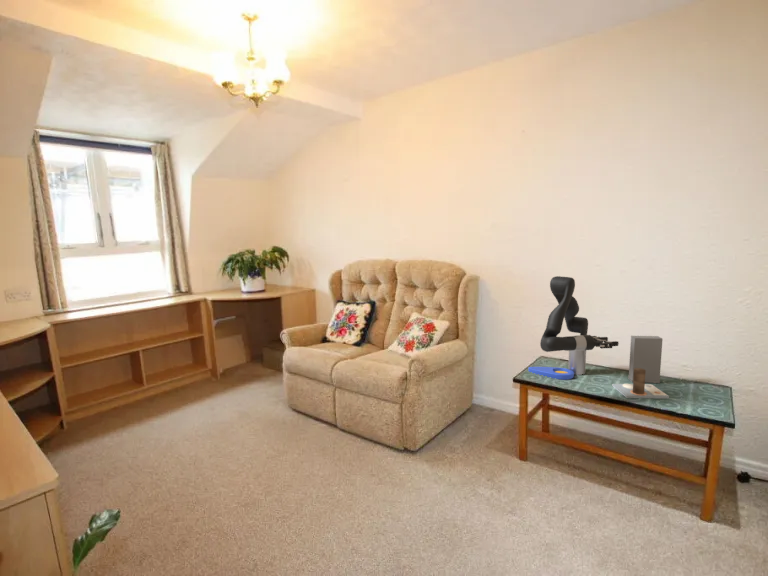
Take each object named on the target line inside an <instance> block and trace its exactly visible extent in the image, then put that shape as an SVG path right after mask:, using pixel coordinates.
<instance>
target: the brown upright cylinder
mask: <svg viewBox="0 0 768 576" xmlns="http://www.w3.org/2000/svg"><path fill="white" fill-rule="evenodd" d="M645 373H646V370H645V369H641V368H634V377H633V382H632V384H633V393H635V394H644V389H645V384H646V382H645Z"/></svg>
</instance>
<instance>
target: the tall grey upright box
mask: <svg viewBox="0 0 768 576" xmlns="http://www.w3.org/2000/svg"><path fill="white" fill-rule="evenodd" d="M629 348H630V349H629V364H628V365H629V366H628V375H627V379H628V380H629V381H630V382H632V383H633V377H634V368H641V369H645V370H646V373H645V383H647V384H653V383H655V384H660V383H661V365H662V350H663V338H662V337H660V336H658V335H631V336H630V347H629Z"/></svg>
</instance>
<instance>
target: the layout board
mask: <svg viewBox="0 0 768 576" xmlns="http://www.w3.org/2000/svg"><path fill="white" fill-rule="evenodd" d="M611 386H612V387H613V388H614V389H615V390H617V392H619V393H620V394H621V395H622V396H623V397H625V398H626V399H669V398H670V396H669V395H668V394H667V393H665V392H664V391H662V390H661V389H659V388H658V387H657V386H655V385H653V383H645V389H644V394H635V393H633V383H612V384H611Z"/></svg>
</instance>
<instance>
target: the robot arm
mask: <svg viewBox="0 0 768 576" xmlns="http://www.w3.org/2000/svg"><path fill="white" fill-rule="evenodd" d="M575 287H576V282H575V279H574V277H570V276H560V275H559V276H553V277H552V278H551V279H550V281H549V288H550V292H551V294H552V295H553V296H554V297H555V300H556V301H557V303H558V304H557V305H556V306H555V308H554V309H552V311H551V312H550V314H549V315H548V319H547V322H546V326H545V327H546V328H545V330H544V332H543V333H542V336H541V339H540V342H539V343H540V345H539V346H540V348H541V350H542V351H543V352H546V353H549V352H550V353H551V352H560V351H566V352H568V364H567V365H568V366H567V369H570V370H572V371H573V372H574V375H578V376H579V375H580V376H581V375H582V374H583V375H585V374H586V366H587V364H586V363H587V351H592V350H593V349H594V348H595V347H596V348H599V349H613V347H618V346H619V341H616V340H615V341H609V337H607V336H597V335H591V334H588V330H589V329H588V328H589V320H588V319H587V317H581V316H576V315H578V313H579V312H580V305H579V303H578V300H577V299H576V298H575V297H574V296H573V295H574V292H575ZM564 321H565V326H566V329H567V331H568V332H571V333H574V334H575V333H576V334H579V335H571V336H558V335H559V334H561V331H562V327H563V323H564Z"/></svg>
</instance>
